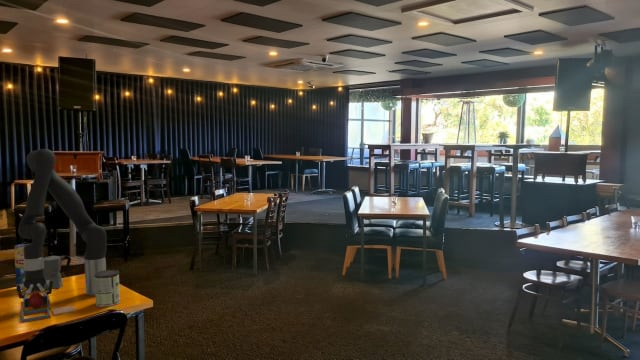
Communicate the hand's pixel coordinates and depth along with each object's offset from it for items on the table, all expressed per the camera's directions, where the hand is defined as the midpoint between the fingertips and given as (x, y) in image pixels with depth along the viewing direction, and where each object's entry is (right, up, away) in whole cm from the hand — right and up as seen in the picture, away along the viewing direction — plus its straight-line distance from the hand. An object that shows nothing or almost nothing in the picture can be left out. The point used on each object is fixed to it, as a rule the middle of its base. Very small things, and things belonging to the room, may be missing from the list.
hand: (36, 305), depth 209 cm
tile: (+14, -2, -3) cm, 14 cm away
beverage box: (-22, 0, +31) cm, 38 cm away
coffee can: (+28, -1, +7) cm, 29 cm away
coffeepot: (-10, 0, +33) cm, 34 cm away
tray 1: (-5, -1, +9) cm, 11 cm away
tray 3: (+5, -2, -9) cm, 11 cm away
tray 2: (0, -2, 0) cm, 2 cm away
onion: (0, -2, 0) cm, 2 cm away
